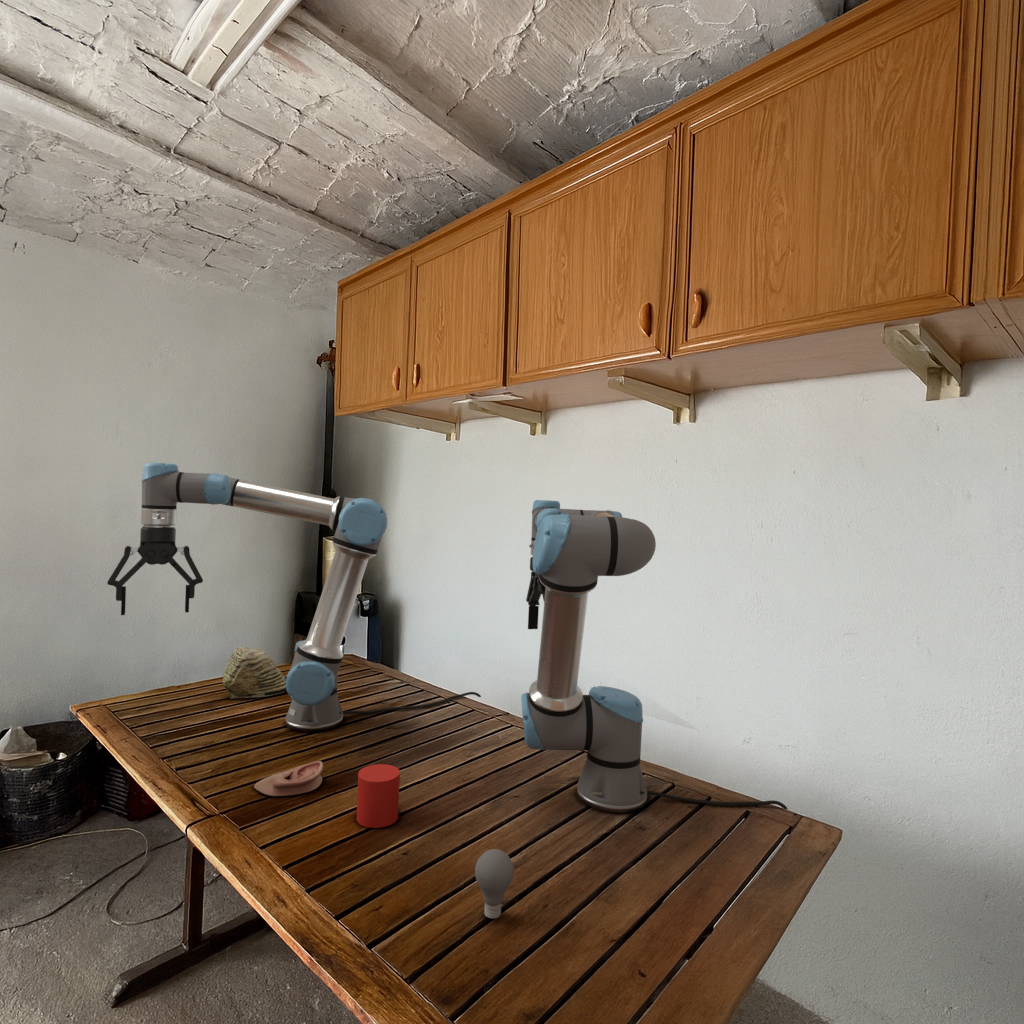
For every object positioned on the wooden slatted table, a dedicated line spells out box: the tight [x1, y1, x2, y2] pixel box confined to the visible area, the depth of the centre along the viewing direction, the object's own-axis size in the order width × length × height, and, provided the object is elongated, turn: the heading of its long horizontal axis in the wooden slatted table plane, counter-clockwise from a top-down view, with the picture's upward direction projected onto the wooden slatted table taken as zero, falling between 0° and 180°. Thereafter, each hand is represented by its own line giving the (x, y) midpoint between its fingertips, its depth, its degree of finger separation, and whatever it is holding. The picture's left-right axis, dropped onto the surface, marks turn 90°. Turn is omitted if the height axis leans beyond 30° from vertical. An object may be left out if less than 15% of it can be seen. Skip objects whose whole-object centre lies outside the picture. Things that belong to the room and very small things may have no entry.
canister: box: [356, 763, 401, 829], centre depth 126 cm, size 8×8×9 cm
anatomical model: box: [253, 760, 324, 797], centre depth 138 cm, size 13×4×12 cm
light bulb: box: [474, 848, 515, 919], centre depth 98 cm, size 6×6×10 cm
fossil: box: [222, 646, 287, 699], centre depth 198 cm, size 9×18×15 cm, turn 132°
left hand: (155, 613), depth 155 cm, fingers open, 13 cm apart
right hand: (540, 634), depth 173 cm, fingers open, 13 cm apart
